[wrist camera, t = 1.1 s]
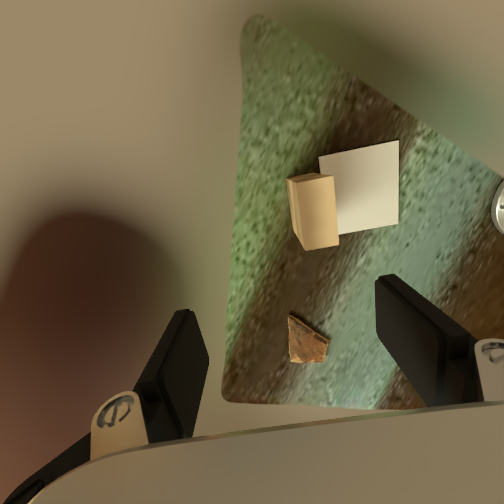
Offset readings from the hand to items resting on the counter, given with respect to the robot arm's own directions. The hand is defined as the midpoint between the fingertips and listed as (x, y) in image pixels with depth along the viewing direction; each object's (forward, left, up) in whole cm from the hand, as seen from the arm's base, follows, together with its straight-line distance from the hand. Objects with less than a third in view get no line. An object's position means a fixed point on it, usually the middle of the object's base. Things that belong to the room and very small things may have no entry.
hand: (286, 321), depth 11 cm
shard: (-2, +26, -29) cm, 39 cm away
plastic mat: (-14, 0, -28) cm, 32 cm away
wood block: (-6, 0, -28) cm, 29 cm away
